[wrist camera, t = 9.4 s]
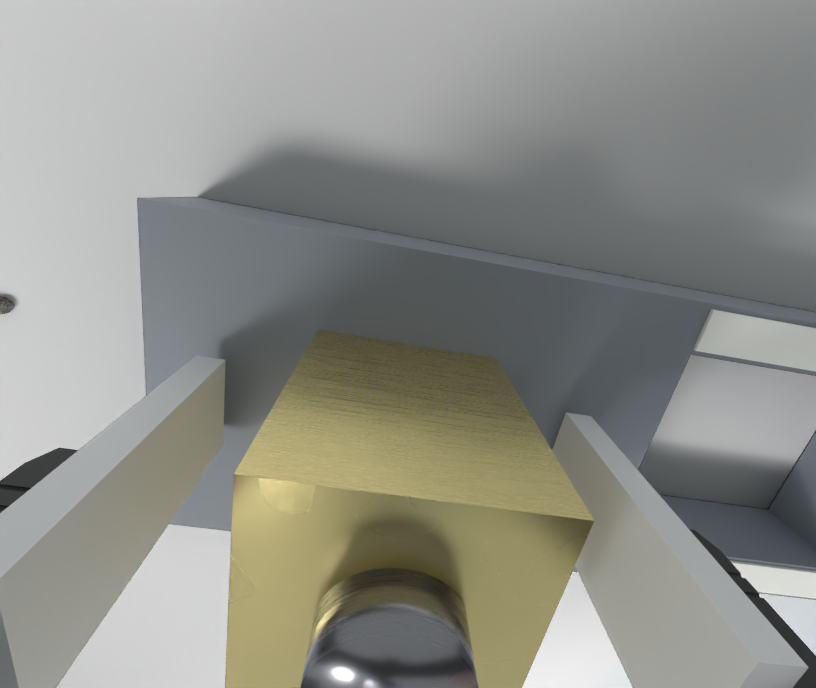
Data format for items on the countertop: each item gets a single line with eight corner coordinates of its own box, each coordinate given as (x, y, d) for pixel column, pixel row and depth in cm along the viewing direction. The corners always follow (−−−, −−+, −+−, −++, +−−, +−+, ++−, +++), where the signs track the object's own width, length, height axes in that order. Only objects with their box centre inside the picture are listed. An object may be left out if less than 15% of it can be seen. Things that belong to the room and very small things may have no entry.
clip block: (301, 479, 13) (197, 789, 6) (318, 329, 11) (198, 534, 4) (456, 499, 13) (517, 809, 6) (496, 358, 11) (632, 585, 5)
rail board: (195, 463, 16) (150, 524, 13) (195, 196, 12) (134, 198, 10) (792, 541, 18) (867, 608, 15) (930, 333, 15) (1061, 368, 12)
